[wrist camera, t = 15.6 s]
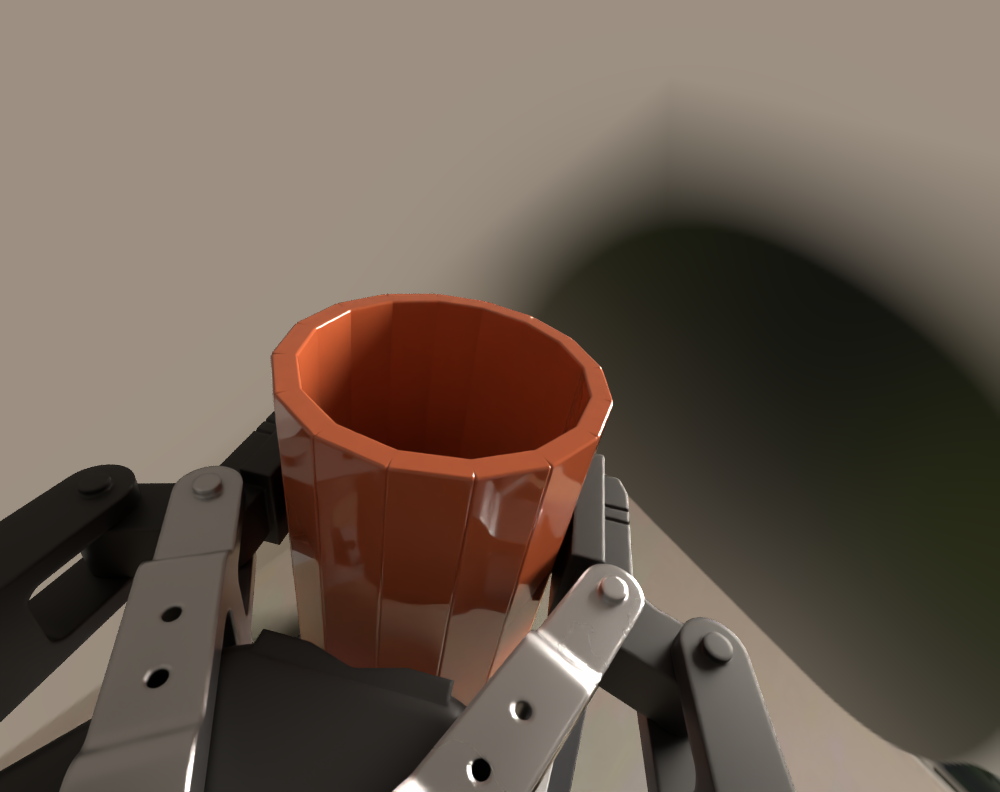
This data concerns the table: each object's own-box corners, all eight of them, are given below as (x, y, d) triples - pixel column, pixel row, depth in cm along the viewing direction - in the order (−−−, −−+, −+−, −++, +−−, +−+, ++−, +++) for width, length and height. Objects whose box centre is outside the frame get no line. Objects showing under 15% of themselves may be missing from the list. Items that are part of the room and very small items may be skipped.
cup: (269, 751, 12) (195, 444, 6) (339, 545, 17) (331, 276, 12) (519, 769, 13) (648, 501, 7) (514, 563, 18) (585, 316, 12)
